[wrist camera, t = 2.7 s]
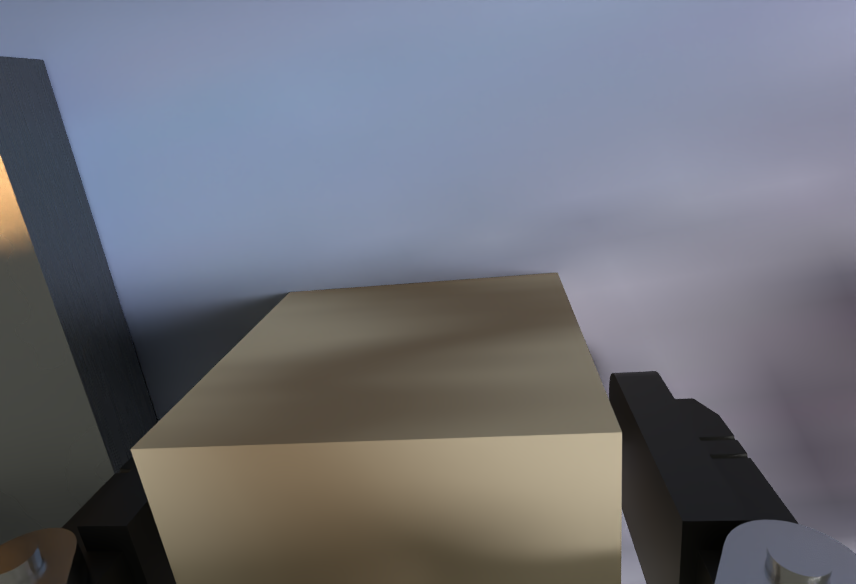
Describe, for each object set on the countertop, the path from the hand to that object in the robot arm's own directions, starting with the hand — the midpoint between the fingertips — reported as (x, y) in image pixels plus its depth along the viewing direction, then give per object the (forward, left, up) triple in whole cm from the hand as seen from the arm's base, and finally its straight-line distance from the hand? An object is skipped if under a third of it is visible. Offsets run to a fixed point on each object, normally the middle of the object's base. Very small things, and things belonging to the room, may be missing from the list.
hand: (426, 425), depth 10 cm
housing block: (0, 0, -1) cm, 1 cm away
